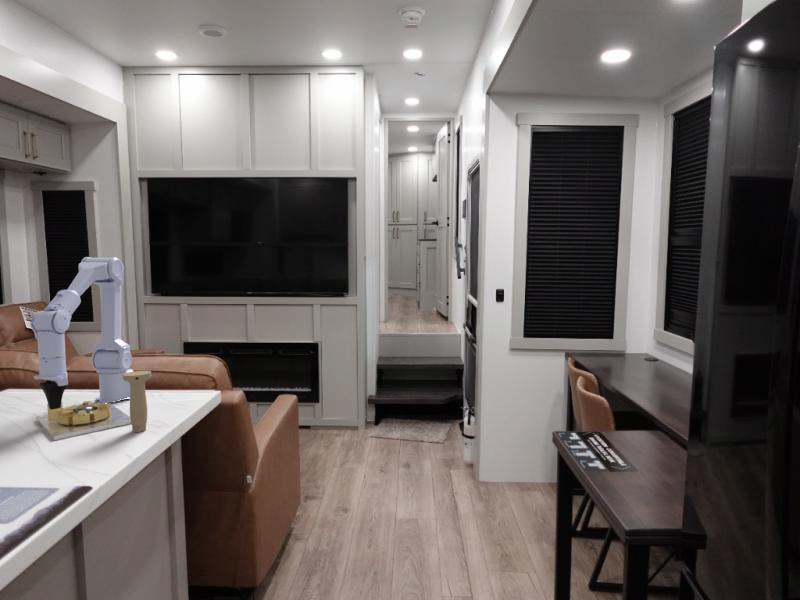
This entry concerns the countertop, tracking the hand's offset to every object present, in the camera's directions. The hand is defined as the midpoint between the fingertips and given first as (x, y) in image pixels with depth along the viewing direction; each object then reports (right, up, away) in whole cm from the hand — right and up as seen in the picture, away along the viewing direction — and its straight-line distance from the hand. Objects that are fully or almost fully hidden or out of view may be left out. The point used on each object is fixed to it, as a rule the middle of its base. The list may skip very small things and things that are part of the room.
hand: (54, 408), depth 130 cm
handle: (+23, -6, -1) cm, 23 cm away
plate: (+5, -5, +5) cm, 8 cm away
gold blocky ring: (+4, -3, +4) cm, 7 cm away
